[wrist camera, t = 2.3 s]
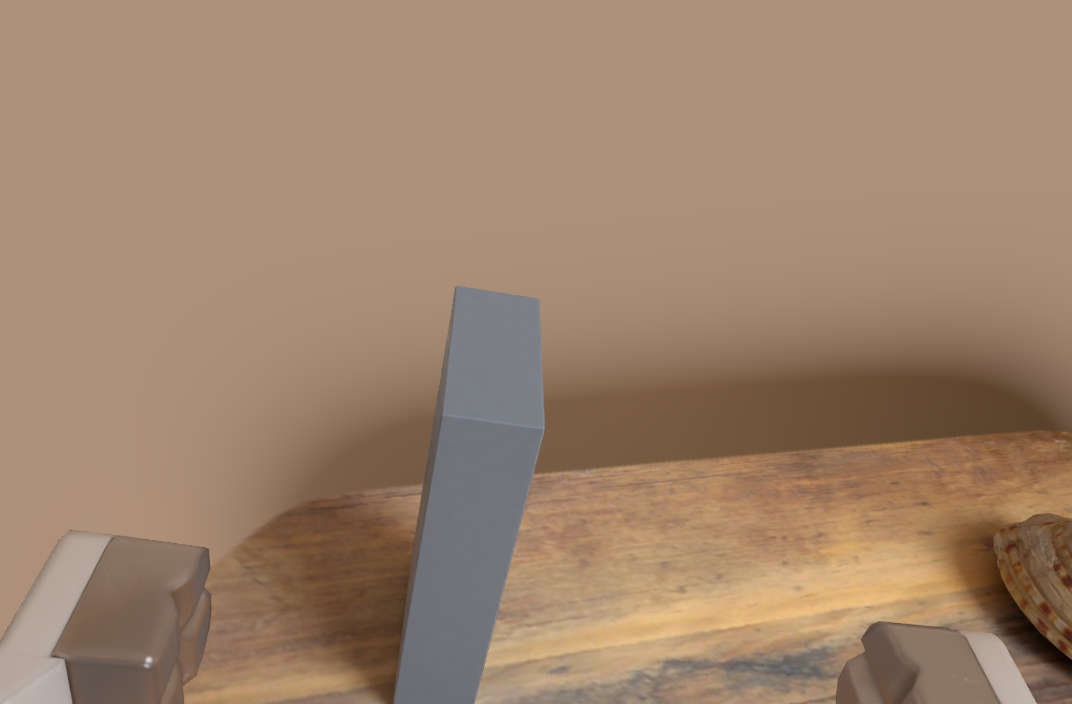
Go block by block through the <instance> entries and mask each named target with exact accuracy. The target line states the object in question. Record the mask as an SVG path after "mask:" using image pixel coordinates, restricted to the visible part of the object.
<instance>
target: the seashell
mask: <svg viewBox="0 0 1072 704" xmlns="http://www.w3.org/2000/svg"><path fill="white" fill-rule="evenodd" d="M993 542H994V550H995V552H996V554H997V556H998V560H997V563H996V564H998V566H997V567H998V569H999V570H1000V575H1001V577H1002V579H1003V581H1004V583H1005V585H1006V587H1007V589H1008V591H1009V592H1010V594H1011V596H1012V597H1013V599H1014V600H1015V602H1016V603H1017V605H1018V606H1019V608H1020V609H1021V610H1022V612H1023V613H1024V614H1025V616H1026V617H1027V618H1028V619H1029V620H1030V621H1031V622H1032V624H1033V625H1034V626H1035V627H1036V628H1037V629H1038V630H1039V632H1040V633H1041V634H1042V635H1043V636H1045V637H1046V638H1047V639H1048V640H1049V641H1050V642H1051V643H1052V644H1053V645H1054V646H1056V647H1057V648H1058V649H1059V650H1060V651H1062V652H1063V653H1064V654H1065V655H1067V656H1068V657H1069V658H1070V659H1071V660H1072V519H1071V518H1065V517H1061V516H1058V515H1054V514H1049V513H1047V514H1037V515H1033V516H1032V517H1030V518H1028V519H1027V520H1025V521H1023V522H1018V523H1013V524H1009V525H1006V526H1003V527H1001V528H1000V529H998V531H997V533H996V534H995V536H994V539H993Z"/></svg>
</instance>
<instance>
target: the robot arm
mask: <svg viewBox="0 0 1072 704" xmlns="http://www.w3.org/2000/svg"><path fill="white" fill-rule="evenodd" d="M209 558H210V557H209V549H208V548H205V547H198V546H191V545H184V544H177V543H169V542H162V541H155V540H147V539H139V538H133V537H125V536H118V535H117V536H116V535H108V534H100V533H92V532H84V531H76V530H70V531H68V533H66V534H65V535H64V536H63V537H62V538H61V539H60V540H59V541H58V542H57V544H56V546H55V547H54V549H53V551H52V552H51V554H50V556H49V557H48V559H47V561H46V563H45V564H44V566H43V568H42V570H41V571H40V573H39V575H38V576H37V578H36V580H35V582H34V583H33V585H32V587H31V588H30V590H29V592H28V594H27V595H26V597H25V599H24V601H23V602H22V604H21V606H20V608H19V609H18V611H17V613H16V614H15V616H14V618H13V620H12V621H11V623H10V625H9V626H8V628H7V630H6V632H5V634H4V635H3V637H2V638H1V640H0V704H184V695H183V686H184V685H185V684H186V683H187V682H189V681H190V680H191V679H192V678H194V677H195V676H196V675H197V672H198V669H199V666H200V663H201V660H202V657H203V654H204V650H205V645H206V641H207V636H208V632H209V628H210V618H211V594H210V593H209V592H208V590H207V589H206V588H205V587H204V585H205V582H206V579H207V576H208V574H209V571H210V559H209ZM861 641H862V643H863V646H864V649H865V652H864V653H862V654H860V655H858V656H856V657H854V658H853V659H851V660H849V661H847V663H846V665H845V667H844V669H843V670H842V672H841V674H840V676H839V678H838V683H837V691H836V704H1037V703H1036V701H1035V700H1034V698H1033V696H1032V694H1031V692H1030V690H1029V689H1028V687H1027V685H1026V683H1025V681H1024V680H1023V678H1022V676H1021V674H1020V672H1019V670H1018V669H1017V667H1016V665H1015V663H1014V661H1013V659H1012V658H1011V656H1010V654H1009V652H1008V650H1007V648H1006V647H1005V645H1004V643H1003V642H1002V641H1001V640H1000V639H999V638H998V637H997V636H995V635H994V634H992V633H983V632H974V631H965V630H956V629H955V630H951V629H949V628H943V627H932V626H922V625H912V624H902V623H892V622H881V621H879V622H877V623H875V624H873V625H871V626H869V628H868V629H867V631H866V632H865V634H864V635H863V637H862V639H861Z"/></svg>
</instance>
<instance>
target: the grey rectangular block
mask: <svg viewBox="0 0 1072 704" xmlns="http://www.w3.org/2000/svg"><path fill="white" fill-rule="evenodd" d="M539 303H540V301H539V299H538V298H531V297H525V296H518V295H512V294H506V293H499V292H493V291H486V290H480V289H473V288H466V287H460V286H456V287H455V292H454V299H453V305H452V311H451V317H450V323H449V329H448V335H447V342H446V348H445V354H444V360H443V366H442V372H441V379H440V385H439V391H438V397H437V403H436V409H435V416H434V422H433V428H432V434H431V440H430V446H429V453H428V459H427V465H426V471H425V477H424V483H423V490H422V496H421V502H420V508H419V514H418V520H417V527H416V533H415V539H414V545H413V551H412V557H411V564H410V571H409V579H408V587H407V595H406V603H405V610H404V618H403V626H402V634H401V641H400V649H399V657H398V665H397V673H396V680H395V688H394V696H393V704H475V700H476V696H477V692H478V688H479V684H480V680H481V676H482V672H483V668H484V664H485V661H486V657H487V653H488V649H489V645H490V641H491V637H492V633H493V629H494V625H495V622H496V618H497V614H498V610H499V606H500V602H501V598H502V594H503V590H504V586H505V582H506V579H507V575H508V571H509V567H510V563H511V559H512V555H513V551H514V547H515V543H516V539H517V536H518V532H519V528H520V524H521V520H522V516H523V512H524V508H525V504H526V500H527V496H528V493H529V489H530V485H531V481H532V477H533V473H534V469H535V465H536V461H537V457H538V453H539V449H540V446H541V441H542V438H543V434H544V430H545V422H544V400H543V399H544V398H543V374H542V350H541V327H540V304H539Z"/></svg>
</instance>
